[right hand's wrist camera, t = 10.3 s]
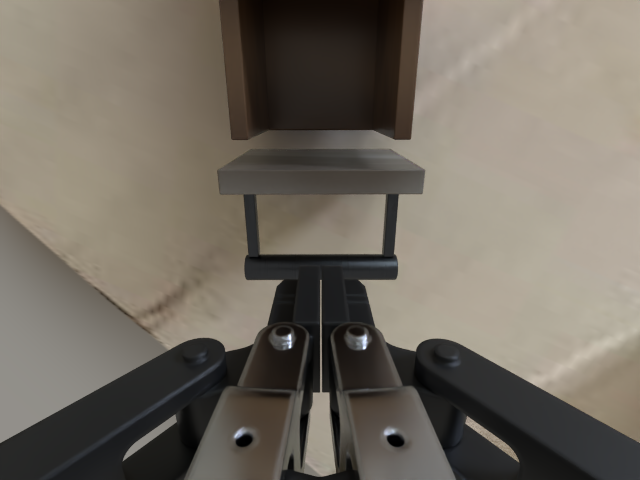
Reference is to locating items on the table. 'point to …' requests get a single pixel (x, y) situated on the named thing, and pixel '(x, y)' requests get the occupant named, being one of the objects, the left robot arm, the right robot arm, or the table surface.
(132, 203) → the table surface
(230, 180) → the drawer
